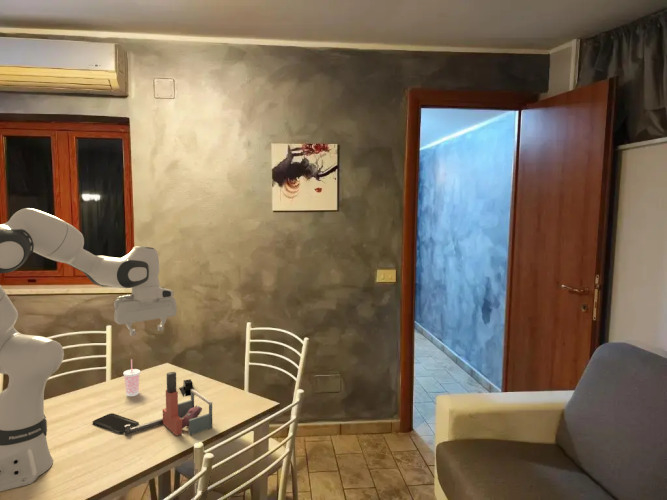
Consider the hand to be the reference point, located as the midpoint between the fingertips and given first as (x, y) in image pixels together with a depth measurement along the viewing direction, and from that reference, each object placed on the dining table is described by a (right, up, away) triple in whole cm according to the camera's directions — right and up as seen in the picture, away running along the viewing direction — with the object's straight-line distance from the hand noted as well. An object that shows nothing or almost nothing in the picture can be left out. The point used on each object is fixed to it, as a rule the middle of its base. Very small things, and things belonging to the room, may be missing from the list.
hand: (146, 332), depth 158 cm
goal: (+15, -32, 0) cm, 35 cm away
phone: (-10, -32, -1) cm, 33 cm away
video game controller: (+15, -32, 0) cm, 35 cm away
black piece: (+6, -29, +28) cm, 41 cm away
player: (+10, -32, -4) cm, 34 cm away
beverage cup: (-15, -29, +24) cm, 40 cm away
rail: (+2, -32, -3) cm, 32 cm away
